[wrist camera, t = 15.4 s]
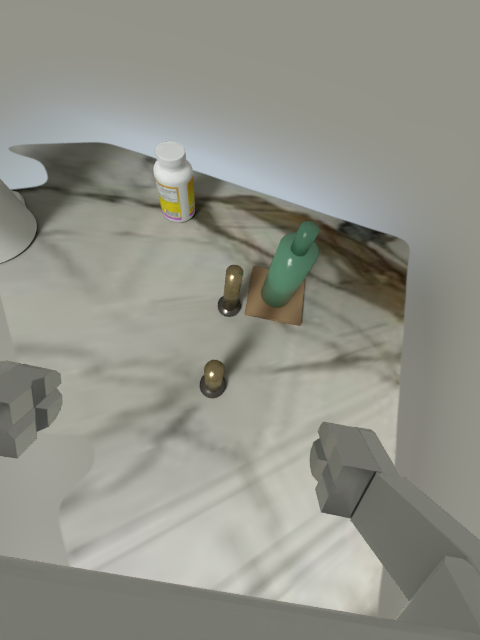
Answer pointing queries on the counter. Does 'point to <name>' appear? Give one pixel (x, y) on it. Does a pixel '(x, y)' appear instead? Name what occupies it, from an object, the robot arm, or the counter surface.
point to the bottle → (290, 265)
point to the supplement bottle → (174, 182)
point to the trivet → (262, 310)
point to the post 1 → (213, 379)
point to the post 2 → (231, 292)
